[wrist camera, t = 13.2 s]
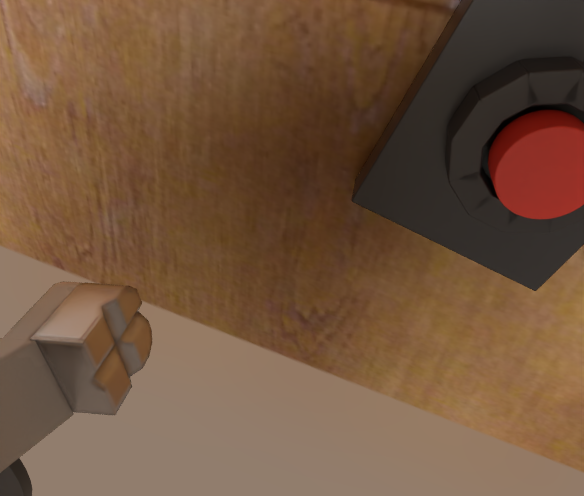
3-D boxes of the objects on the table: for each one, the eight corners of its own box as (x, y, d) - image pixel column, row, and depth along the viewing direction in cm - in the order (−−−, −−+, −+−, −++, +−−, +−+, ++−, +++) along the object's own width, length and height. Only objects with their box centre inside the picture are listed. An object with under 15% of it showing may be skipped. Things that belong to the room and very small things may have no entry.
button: (545, 212, 20) (556, 235, 19) (468, 172, 20) (473, 193, 18) (614, 136, 18) (632, 156, 17) (529, 91, 18) (540, 107, 16)
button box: (526, 265, 26) (544, 317, 22) (354, 180, 25) (346, 221, 22) (739, 44, 19) (809, 74, 16) (511, -85, 18) (534, -82, 15)
